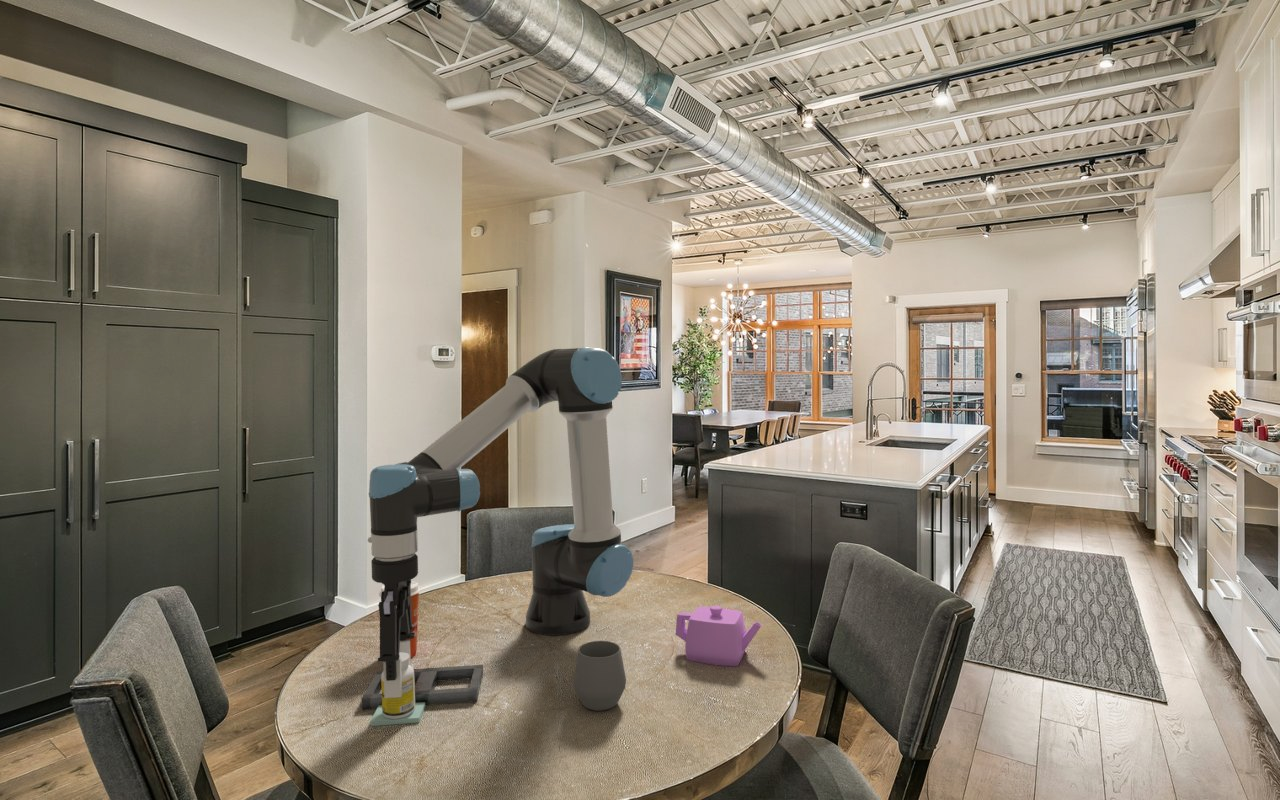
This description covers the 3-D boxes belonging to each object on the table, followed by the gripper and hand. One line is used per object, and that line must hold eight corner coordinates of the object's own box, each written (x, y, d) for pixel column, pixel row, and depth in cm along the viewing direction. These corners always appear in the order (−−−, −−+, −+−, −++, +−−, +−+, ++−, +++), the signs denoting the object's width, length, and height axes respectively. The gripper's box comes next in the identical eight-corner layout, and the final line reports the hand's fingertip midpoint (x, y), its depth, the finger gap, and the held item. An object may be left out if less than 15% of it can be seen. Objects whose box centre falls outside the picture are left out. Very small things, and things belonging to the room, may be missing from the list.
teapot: (765, 651, 144) (765, 603, 143) (756, 672, 134) (756, 621, 133) (683, 640, 150) (683, 595, 149) (669, 660, 140) (669, 611, 139)
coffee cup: (408, 665, 138) (407, 592, 138) (372, 662, 140) (370, 590, 139) (429, 648, 146) (428, 580, 146) (395, 645, 148) (393, 578, 147)
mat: (425, 706, 121) (425, 702, 121) (419, 722, 116) (419, 717, 116) (378, 709, 120) (378, 705, 120) (370, 726, 114) (370, 721, 114)
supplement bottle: (387, 703, 120) (386, 650, 119) (418, 703, 120) (417, 649, 120) (377, 720, 115) (376, 664, 114) (410, 719, 115) (409, 664, 114)
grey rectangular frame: (483, 674, 134) (482, 664, 133) (477, 701, 123) (476, 690, 123) (377, 681, 131) (377, 671, 131) (361, 709, 120) (361, 698, 120)
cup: (577, 691, 126) (576, 638, 126) (627, 691, 126) (626, 638, 126) (570, 716, 117) (569, 660, 117) (624, 717, 117) (623, 660, 116)
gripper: (385, 542, 126) (388, 663, 127) (355, 573, 106) (359, 716, 107) (427, 540, 127) (430, 661, 128) (405, 571, 107) (408, 713, 108)
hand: (398, 686), depth 118 cm, fingers open, 7 cm apart
